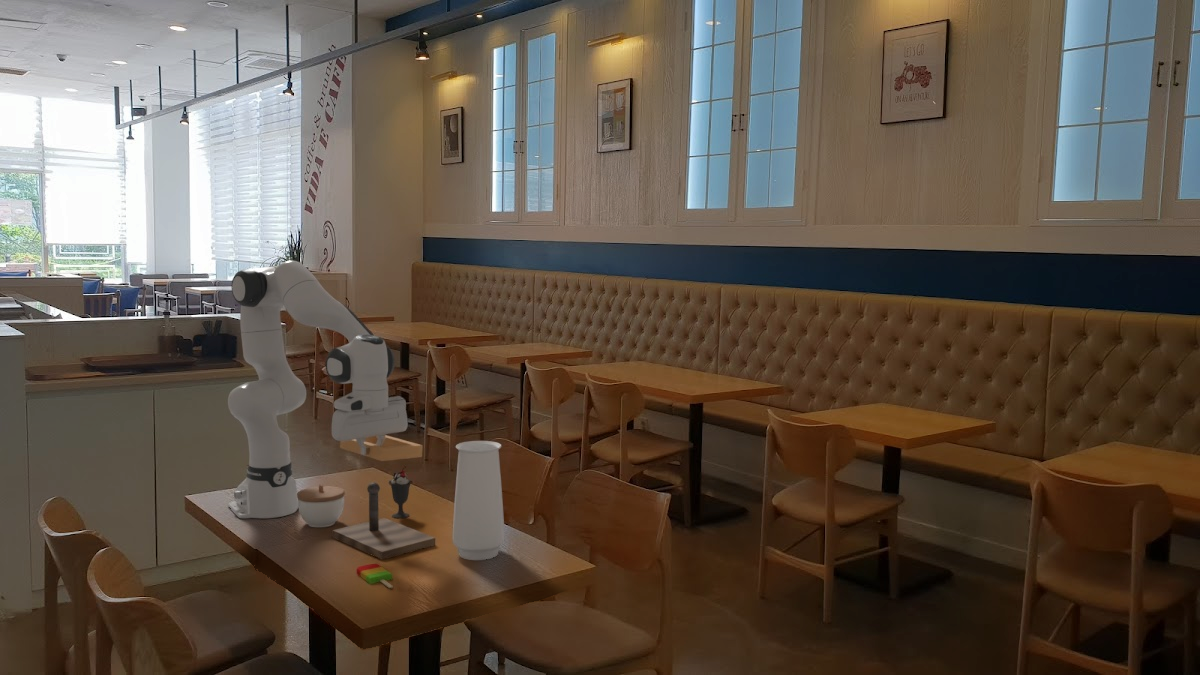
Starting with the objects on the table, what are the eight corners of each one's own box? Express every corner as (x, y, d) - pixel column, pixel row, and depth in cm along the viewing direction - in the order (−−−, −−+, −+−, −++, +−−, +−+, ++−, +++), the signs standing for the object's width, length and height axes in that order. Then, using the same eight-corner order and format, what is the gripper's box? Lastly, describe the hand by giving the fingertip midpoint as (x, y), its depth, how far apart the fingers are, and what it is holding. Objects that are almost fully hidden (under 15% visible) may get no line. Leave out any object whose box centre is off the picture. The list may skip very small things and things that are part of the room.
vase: (455, 564, 226) (455, 452, 223) (450, 547, 238) (449, 441, 236) (508, 560, 229) (508, 449, 227) (499, 543, 242) (500, 439, 239)
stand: (332, 537, 245) (331, 482, 244) (384, 524, 257) (383, 472, 255) (382, 559, 229) (381, 501, 227) (435, 545, 240) (435, 489, 239)
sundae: (409, 519, 262) (409, 467, 260) (386, 519, 262) (385, 467, 261) (415, 512, 269) (414, 462, 267) (392, 512, 269) (391, 462, 267)
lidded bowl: (316, 533, 249) (315, 493, 247) (288, 524, 256) (287, 485, 255) (354, 522, 259) (353, 484, 257) (326, 514, 266) (326, 476, 265)
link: (339, 448, 243) (340, 436, 242) (379, 444, 251) (380, 433, 251) (381, 461, 229) (382, 449, 229) (422, 456, 237) (422, 445, 237)
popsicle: (376, 569, 223) (376, 562, 223) (402, 588, 211) (402, 580, 211) (354, 574, 220) (354, 566, 220) (380, 593, 208) (380, 585, 208)
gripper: (398, 393, 242) (399, 445, 244) (327, 402, 228) (328, 457, 229) (412, 396, 238) (412, 449, 239) (341, 405, 223) (342, 461, 225)
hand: (371, 453), depth 234 cm, fingers closed on link, 2 cm apart
